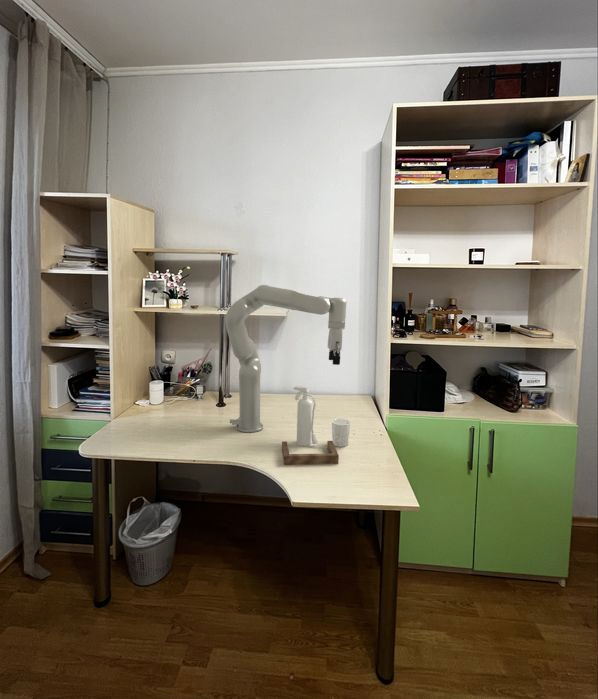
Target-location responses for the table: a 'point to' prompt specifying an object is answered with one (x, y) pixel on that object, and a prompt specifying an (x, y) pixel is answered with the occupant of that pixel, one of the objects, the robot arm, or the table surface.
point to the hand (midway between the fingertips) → (334, 362)
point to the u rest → (310, 456)
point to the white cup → (340, 432)
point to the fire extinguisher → (305, 417)
